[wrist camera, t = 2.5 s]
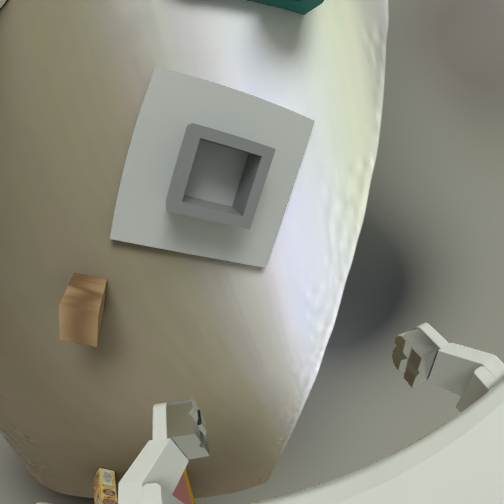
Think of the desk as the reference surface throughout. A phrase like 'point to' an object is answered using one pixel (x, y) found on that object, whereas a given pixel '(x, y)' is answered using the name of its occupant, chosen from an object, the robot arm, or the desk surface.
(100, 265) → the desk surface
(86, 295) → the walnut block
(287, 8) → the bracket
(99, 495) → the candy box
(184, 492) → the alarm clock
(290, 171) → the well
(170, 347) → the desk surface
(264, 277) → the desk surface
